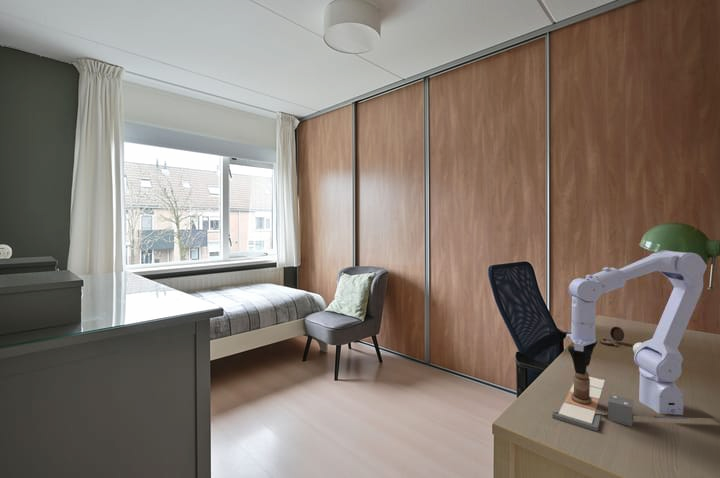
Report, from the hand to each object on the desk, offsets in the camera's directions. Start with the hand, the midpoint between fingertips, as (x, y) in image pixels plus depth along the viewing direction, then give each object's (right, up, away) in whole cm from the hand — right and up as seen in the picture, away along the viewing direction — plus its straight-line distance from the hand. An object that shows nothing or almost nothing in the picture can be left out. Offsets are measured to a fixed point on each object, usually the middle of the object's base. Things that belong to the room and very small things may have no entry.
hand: (582, 369), depth 99 cm
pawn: (0, -9, 0) cm, 9 cm away
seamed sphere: (+45, -9, +37) cm, 58 cm away
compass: (+44, -8, +50) cm, 67 cm away
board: (+3, -10, +4) cm, 11 cm away
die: (+6, -11, -7) cm, 14 cm away
